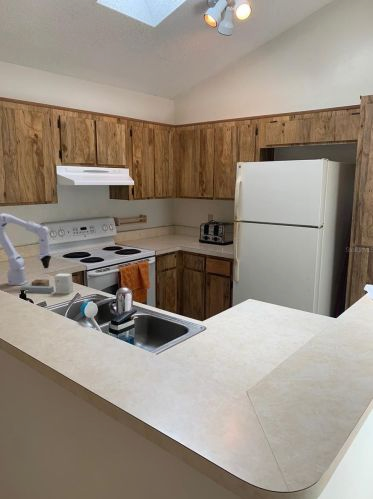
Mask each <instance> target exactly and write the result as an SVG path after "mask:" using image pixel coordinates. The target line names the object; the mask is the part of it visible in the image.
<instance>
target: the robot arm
mask: <svg viewBox="0 0 373 499" xmlns="http://www.w3.org/2000/svg"><path fill="white" fill-rule="evenodd" d="M8 224H14V225H16V226H17V225H18V226H20V227H23V228H25V230H26V231H28V232H30V233H33V234H36V235H37V237H38V243H39V244H38V245H39V254H38V255H37V259H38V260H40V261H41V263H42V267H43V269H49V266H50V261H51V258H52V254H53V250H50V239H49V238H50V237H49V233H50V228H48V227H47V226H46V225H42V224H38V223H35V221H33V220H31V221H30V220H29V221H25V220H23V219H21V218H18V217H17V216H14V215H12V214H10V213H6V212H2V213H0V245H1V247H2V248H3V250H4V252H5V254H6V255H7V257H8V258H7V262H8V264H9V265H8V266H9V268H10V269H8V271H7V285H8V286H9V285H10V286H24V285H25V284H27V283H28V282H29V280H26V272H25V266H26V260H25V259H24V258H23V257H22V256H21V254H20V253H18V252H17V250H16V249H15V247H14V245H13V244H12V242H11V240H10V238H9V237H8V235H7V233H6V231H5V228H6V226H7V225H8Z"/></svg>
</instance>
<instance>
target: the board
mask: <svg viewBox="0 0 373 499" xmlns="http://www.w3.org/2000/svg"><path fill="white" fill-rule="evenodd" d="M26 289H28V291H25V292H24V293H31V294H32V293H35V294H36V293H37V294H39V293H40V294H52V293H53V292H55V290H54V285H53V286H51V285H49V286H32V285H21V287H20V291H21V290H26Z"/></svg>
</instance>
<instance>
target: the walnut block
mask: <svg viewBox="0 0 373 499" xmlns="http://www.w3.org/2000/svg"><path fill="white" fill-rule="evenodd" d="M31 286H50V279H34V280H33V281H31Z"/></svg>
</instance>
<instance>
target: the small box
mask: <svg viewBox="0 0 373 499" xmlns="http://www.w3.org/2000/svg"><path fill="white" fill-rule="evenodd" d="M54 286H55V294H56V295H57V294H58V295H59V294H60V295H63V294H64V295H66V294H67V295H68V294H69V295H70V294H71V293H72V292H73V291H74V287H73V286H74V285H73V275H72V273H57V274H56V275H54Z"/></svg>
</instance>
